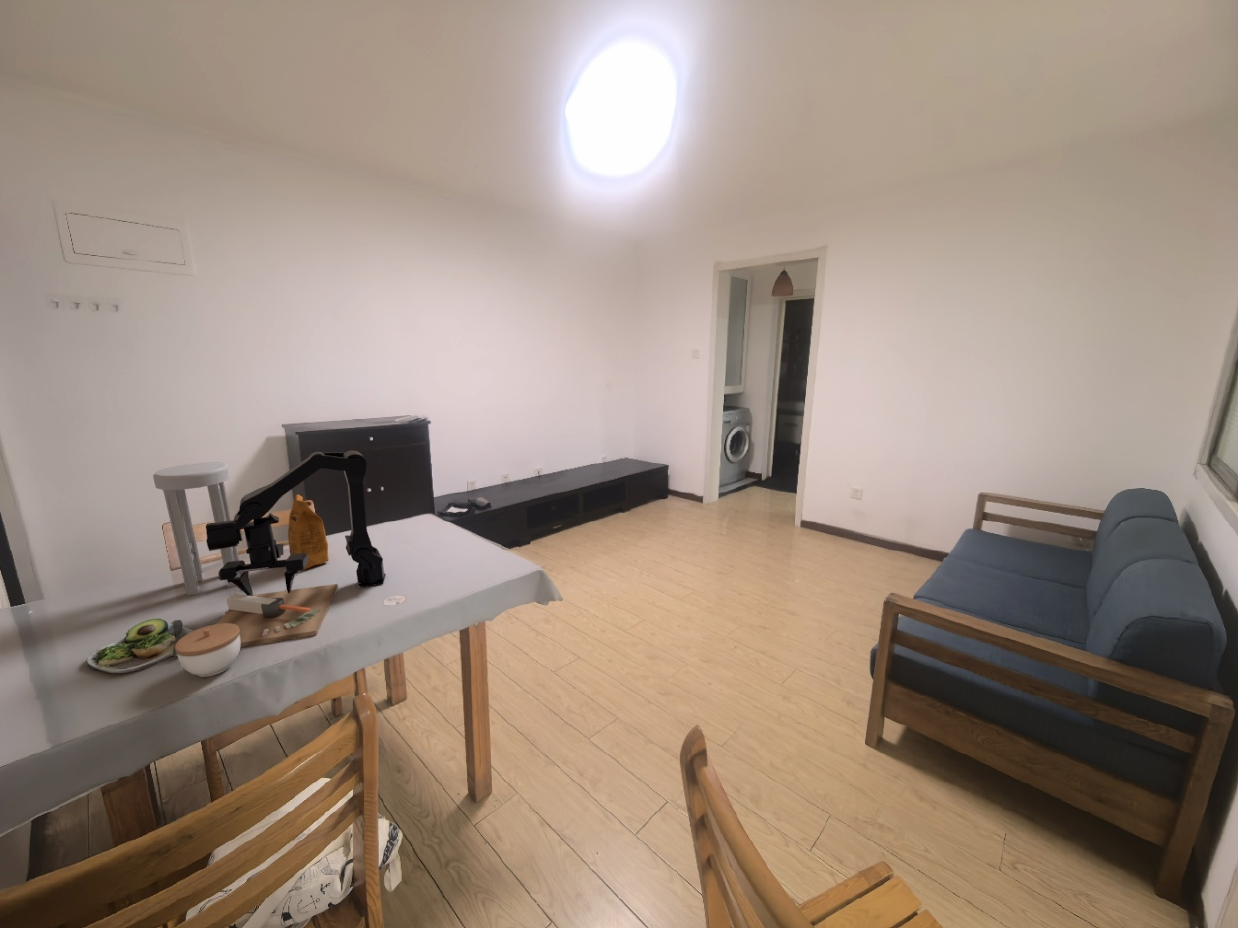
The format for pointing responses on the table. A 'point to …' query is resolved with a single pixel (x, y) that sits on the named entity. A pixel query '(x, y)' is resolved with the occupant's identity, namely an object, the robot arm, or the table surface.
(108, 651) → the salad plate
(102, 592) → the table surface
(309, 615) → the cutting board
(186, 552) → the stool
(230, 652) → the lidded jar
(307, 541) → the coffee package
